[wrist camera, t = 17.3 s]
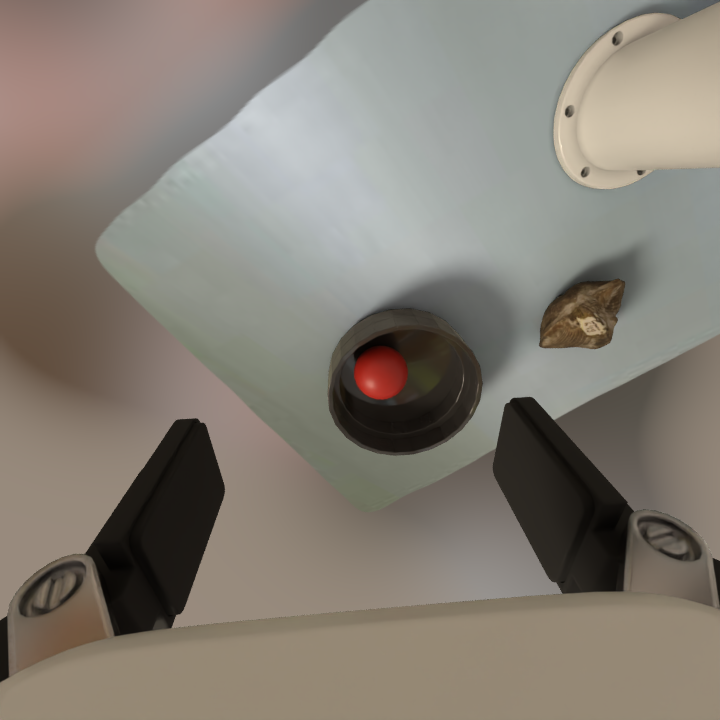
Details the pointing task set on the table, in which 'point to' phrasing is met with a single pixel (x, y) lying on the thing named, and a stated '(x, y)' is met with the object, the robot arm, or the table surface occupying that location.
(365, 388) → the red ball
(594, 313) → the fossilized seashell
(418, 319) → the bowl
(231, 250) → the table surface
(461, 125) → the table surface
